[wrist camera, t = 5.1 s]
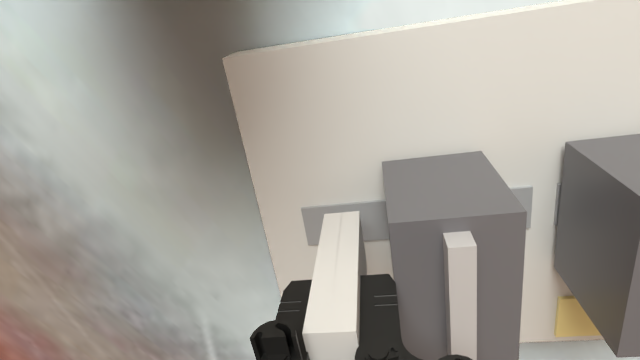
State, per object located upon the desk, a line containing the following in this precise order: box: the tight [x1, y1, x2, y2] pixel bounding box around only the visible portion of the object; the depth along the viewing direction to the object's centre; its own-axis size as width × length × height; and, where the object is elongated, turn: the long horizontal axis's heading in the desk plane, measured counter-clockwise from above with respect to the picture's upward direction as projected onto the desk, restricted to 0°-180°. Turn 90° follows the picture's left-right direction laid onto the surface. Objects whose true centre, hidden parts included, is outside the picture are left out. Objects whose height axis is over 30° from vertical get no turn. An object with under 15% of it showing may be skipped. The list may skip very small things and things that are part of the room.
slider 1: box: [382, 151, 527, 360], centre depth 15 cm, size 4×6×6 cm, turn 9°
